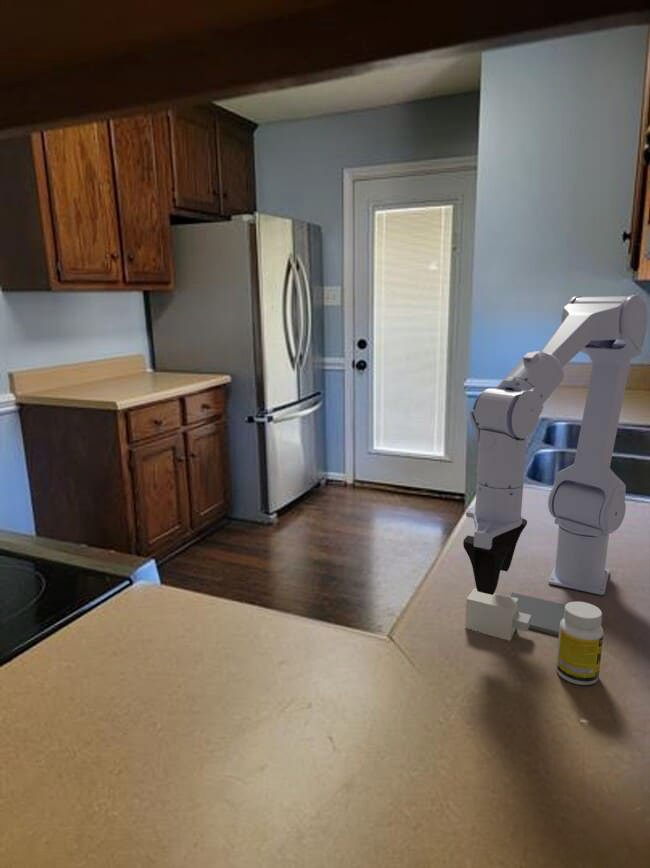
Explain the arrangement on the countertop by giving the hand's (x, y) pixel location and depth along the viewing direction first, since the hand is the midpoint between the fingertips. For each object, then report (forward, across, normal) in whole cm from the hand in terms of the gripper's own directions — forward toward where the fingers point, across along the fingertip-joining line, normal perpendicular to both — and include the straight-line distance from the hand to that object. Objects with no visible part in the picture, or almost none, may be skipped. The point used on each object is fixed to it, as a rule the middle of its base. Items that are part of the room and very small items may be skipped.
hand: (493, 580), depth 78 cm
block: (+7, 0, 0) cm, 7 cm away
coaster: (+7, -7, +4) cm, 11 cm away
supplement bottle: (+7, +5, +12) cm, 14 cm away
